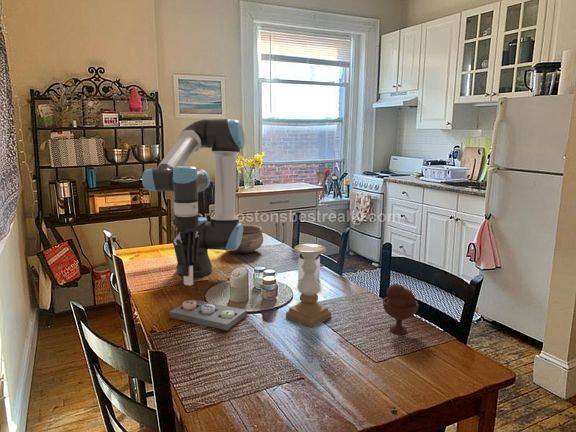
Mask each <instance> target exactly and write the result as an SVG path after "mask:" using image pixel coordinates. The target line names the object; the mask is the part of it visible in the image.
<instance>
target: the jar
mask: <svg viewBox="0 0 576 432" xmlns="http://www.w3.org/2000/svg"><path fill="white" fill-rule="evenodd" d="M298 254H299V253H298ZM303 263H304V258H303V256H302V254H299V256H298V268H297V269H298V270H297V271H298V272H297V274H298V275H297V278H298V281H301V279H302V278H303V276H304V271H303V269H302V265H303ZM315 263H316V265H317V269H316V271H315V273H314V274H315V277H316V279H317V280H318V281H319V280H320V274H321V273H320V272H321V271H320V269H321V268H320V267H321V265H320V263H321V257H320V254H318V256H317V257H316V259H315Z"/></svg>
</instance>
